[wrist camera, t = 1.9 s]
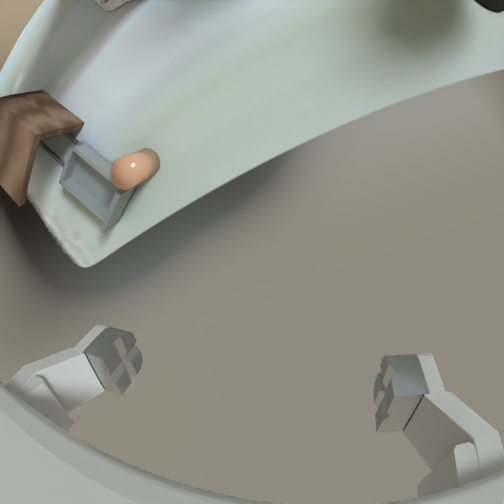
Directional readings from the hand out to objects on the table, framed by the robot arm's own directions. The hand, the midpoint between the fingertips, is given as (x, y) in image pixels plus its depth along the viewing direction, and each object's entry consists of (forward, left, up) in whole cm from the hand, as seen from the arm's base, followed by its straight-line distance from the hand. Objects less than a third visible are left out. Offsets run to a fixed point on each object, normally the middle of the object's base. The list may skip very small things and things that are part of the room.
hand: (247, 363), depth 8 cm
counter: (-28, -18, -28) cm, 43 cm away
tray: (-20, -18, -28) cm, 39 cm away
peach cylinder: (-15, -11, -28) cm, 34 cm away
